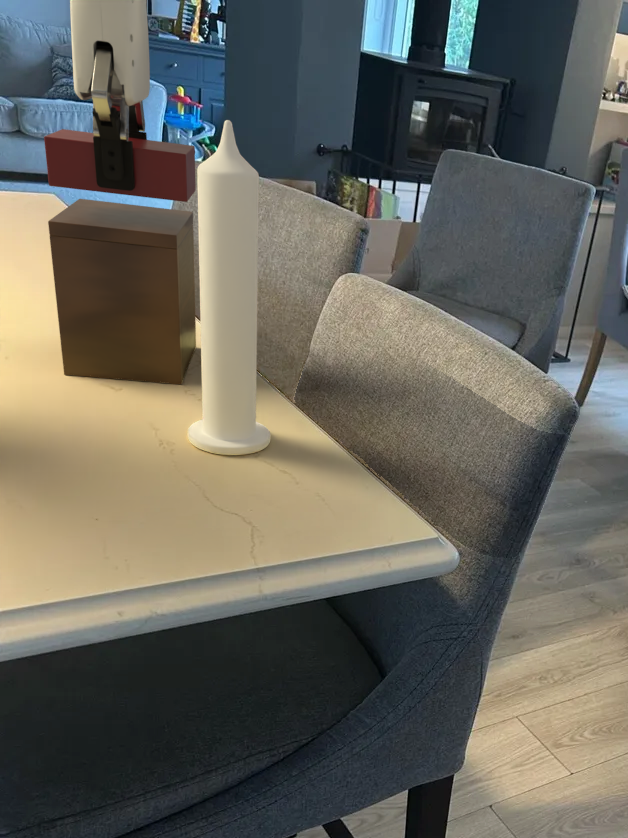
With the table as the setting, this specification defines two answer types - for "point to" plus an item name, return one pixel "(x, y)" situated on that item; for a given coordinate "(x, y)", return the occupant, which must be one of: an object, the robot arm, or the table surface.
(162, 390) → the table surface
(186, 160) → the red rectangular block
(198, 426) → the candle
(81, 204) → the brown rectangular block
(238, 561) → the table surface
